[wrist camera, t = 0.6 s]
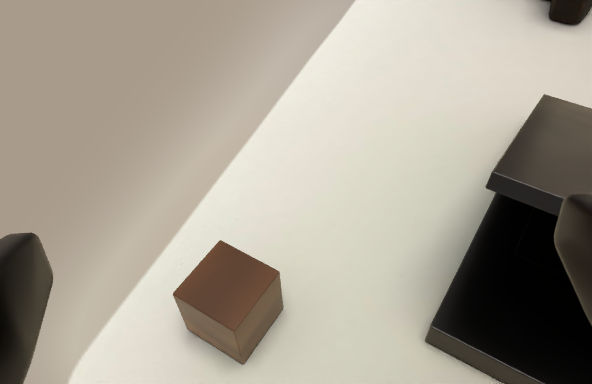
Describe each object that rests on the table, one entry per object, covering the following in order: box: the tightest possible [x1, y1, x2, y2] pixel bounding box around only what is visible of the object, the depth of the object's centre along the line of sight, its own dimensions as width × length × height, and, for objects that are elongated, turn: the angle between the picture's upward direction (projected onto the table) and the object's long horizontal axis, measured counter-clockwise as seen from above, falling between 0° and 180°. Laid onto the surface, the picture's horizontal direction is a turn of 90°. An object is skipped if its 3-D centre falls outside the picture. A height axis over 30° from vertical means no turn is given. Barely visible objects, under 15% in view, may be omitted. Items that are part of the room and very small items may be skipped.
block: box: [173, 240, 283, 364], centre depth 28 cm, size 4×4×4 cm
